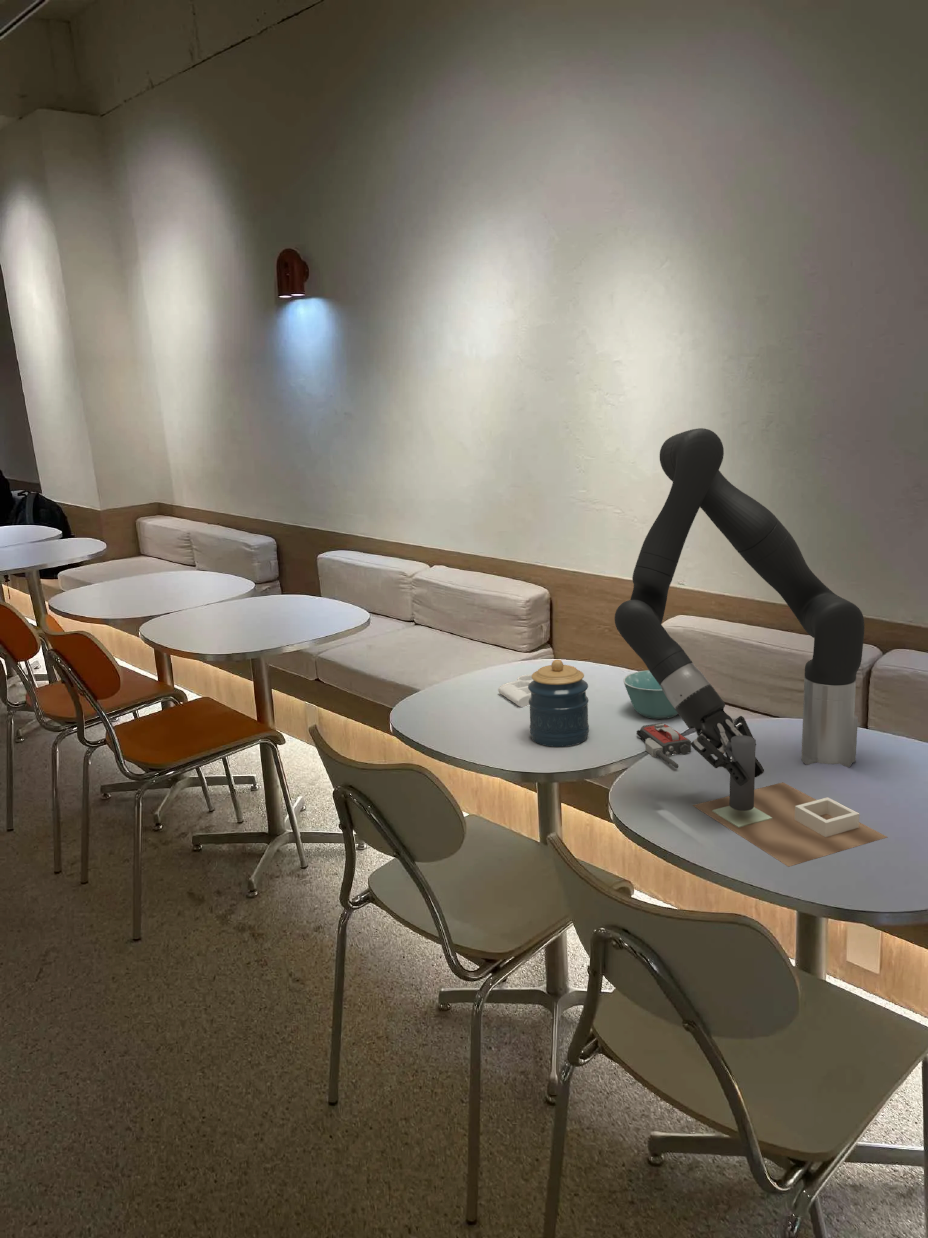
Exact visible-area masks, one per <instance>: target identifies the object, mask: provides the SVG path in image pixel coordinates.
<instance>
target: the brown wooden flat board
mask: <svg viewBox="0 0 928 1238" xmlns="http://www.w3.org/2000/svg"><path fill="white" fill-rule="evenodd" d="M729 798H730V795H728V796H724V797H720V798H715V799H711V800H708V801H703V802H699V803H697V804H693V805H692V806H693V807H694V808H695V809H697V810H699V811H701V812H702V813H703V814H705V815H707V816H709V818H711V819H713V820H715V821H717V822H718V823H719V824H721V825H722V826H724V827H725V828H727V829H728V830H730V831H732V833H735V834H737V835H738V836H740V838H742V839H744V840H746V841H747V842H749V843H751V844H753V845H754V846H755V847H757V848H758V849H760V850H761V851H763V852H765V853H766V854H768V855H769V856H770V857H773V859H776V860H777V861H779V862H780V863H782V864H783V865H785V866H786V867H788V868H789V867H792V866H796V865H799V864H803V863H805V862H809V861H813V860H816V859H820V858H823V857H826V856H829V855H833V854H836V853H837V854H838V853H839V852H843V851H846V850H850V849H852V848H857V847H861V846H863V845H866V844H870V843H873V842H876V841H877V842H878V841H880V840H884V839H886V838H888V836H886V835H885V834H882V833H880V832H879V831H877V830H875V829H873V828H871V827H870V826H868V825H865V824H864V823H862V822H860V821H859V828H855V829H852V830H849V831H845V832H842V833H838V834H835V835H831V836H828V837H824V836H823V835H821V834H819V833H817V832H816V831H814V830H812V829H810V828H809V827H807V826H805V825H803V824H801V823H800V822H798V821H796V820H795V806H797V805H801V804H804V803H808V802H812V801H816V800H817V799H816V798H815V797H812V796H810V795H808V794H806V793H805V792H802V791H801V790H798V789H796V788H795V787H793V786H791V785H789V784H787V783H785V782H778V783H774V784H770V785H766V786H762V787H759V788H756V789H755V788H754V808H753V809H751V810H748V811H740V810H735V809H733V808H731V807H730V805H729ZM820 817H822V818H824V819H826V820H828V819H831V818H834V817H832V816H830V815H829V814H824V815H820Z"/></svg>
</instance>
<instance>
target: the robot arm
mask: <svg viewBox="0 0 928 1238" xmlns="http://www.w3.org/2000/svg"><path fill="white" fill-rule="evenodd" d="M723 445H724V444H723V442H722V440H721V438H720V437H719V436H718V434H716V432H714V431H713V430H711V429H707V428H705V427H704V428H703V427H701V428H699V427H698V428H694V429H693V428H692V429H689V430H685V431H682V432H680V433H676V434H673V435H672V436H669V437H668V438H667V439H666V440H665V441H664V442H663V443H662V445H661V447H660V450H659V462H660V466H661V469H662V471H663V472H664V474H665V475H666V477H668V479H669V480H670V481H671V482H672V484H671V488H670V490H669V493H668V495H667V498H666V500H665V503H664V505H663V507H662V508H661V510H660V512H659V513H658V515H657V517H656V518H655V520H654V522H653V523H652V525H651V527H650V529H649V530H648V533H647V535H646V536H645V538H644V541H643V542H642V545H641V547H640V551H639V554H638V556H637V559H636V562H635V566H634V569H633V573H632V584H633V589H632V591H631V592H632V593H631V596H630V599H628V600H624V601H623V602H622V603H621V604H620V605H618V607H617V609H616V611H615V614H614V625H615V629H616V630H617V631H618V633H619V635H620V636H621V637H622V639H623V640H625V642H626V643H627V644H628V646H629V647H630V648H631V649H632V650H633V652H634V653H635V654H636V655H637V656H638V658H640V659H641V660H642V662H643V663H644V665H645V666H646V667H647V670H649V671H650V672H651V674H652V675H653V677H654V678H655V679H656V681H657V682H658V684H659V685H660V687H661V688H662V690H663V692H664V694H665V695H666V697H667V699H668V700H669V701H670V703H671V704H672V706H673V707H674V708H675V710H676V711H677V713H678V714H677V715H678V716H679V717H680V718H681V720H682V721H683V722H684V724H685V725H686V726H687V728H688V729H690V730H693V729H694V730H695V732H696V735H697V737H696V738H695V739H694V740H692V741H691V748H692V749H694V750H695V751H696V752H697V753H698V754H699V755H700V756H701V757H702V758H703V759H704V760H706V761H707V762H708V763H709V765H711V766H712V767H713V768H714V769H718V768H722V769H726V771H727V772H728V774H729V776H730V775H731V776H732V778H733V779H734V780H735V782H736V783H738V785H739V786H742V785H744V784H746V783H747V782H748V781H750V778H749V776H748V775H747V773H746V772H745V771H744V769H743V768H742V767H741V765H740V764H739V763H738V761H736V762H735V757H734V755H733V753H732V751H731V738H732V737H734V736H738V735H744V736H750V737H753V738H754V736H753V734H752V732H751V729H750V728H749V725H748V724H747V721H746V719H745V717H743V716H742V715H739V716H737V718H732V717H731V716H730V715H729V714H727V712H725V711H724V708H725V706H726V702H725V701H724V700H723V699H722V697H721V696H720V695H719V693H718V692H717V691H716V689H715V688H714V687H713V685H712V684H711V682H710V681H709V680H708V678H707V677H706V676H705V674H704V673H703V672H702V671H701V670H700V669H699V668H698V666H696V665H695V663H694V662H693V661H692V659H691V658H690V657H689V656H688V654H687V653H686V651H685V650H684V649H683V648H682V646H681V645H680V644H679V643H678V642H677V641H676V640H674V639H673V638H672V637H671V636H670V634H669V633H668V632H667V631H666V629H665V628H664V626H663V625H662V624H663V620H664V616H665V611H666V606H667V601H668V594H669V589H670V586H671V584H672V581H673V578H674V575H675V572H676V570H677V566H678V564H679V560H680V557H681V555H682V552H683V548H684V545H685V544H686V540H687V537H688V535H689V532H690V530H691V528H692V526H693V522H694V521H695V518H696V516H697V514H698V513H699V509H701V510H702V511H703V512H704V513H705V514H706V516H707V517H708V518H709V519H710V521H711V522H712V523H713V524H714V526H715V527H716V528H717V529H718V530H719V532H721V534H722V535H723V536H724V537H725V538H726V539H727V540H728V542H729V543H730V544H731V546H732V547H733V548H734V549H735V551H736V552H737V553H738V554H739V556H741V557H742V558H743V560H744V561H745V562H746V563H747V565H749V566H750V567H751V568H752V569H753V570H754V571H755V573H756V574H758V576H760V578H761V579H763V580H764V581H765V582H766V583H767V584H768V585H769V586H770V587H771V588H772V589H774V590H775V591H776V592H777V593H778V594H779V595H780V597H781V598H782V600H784V602H785V603H786V605H787V606H788V607H789V609H790V611H792V613H793V614H794V616H795V617H796V619H797V621H798V622H799V624H800V625H801V626H802V628H803V630H804V631H805V632H806V633H807V634H808V635H809V636H810V637H812V638H814V640H813V651H812V659H810V660H808V661H807V662H806V663H805V666H804V682H803V683H804V684H803V706H802V707H803V709H802V710H803V711H802V729H801V730H802V732H801V733H802V734H801V757H800V758H801V762H802V763H803V764H805V765H806V766H809V765H812V764H813V765H814V764H816V763H819V764H824V765H842V766H844V767H846V768H850V767H851V766H852V763H856V759H857V758H856V757H857V742H858V739H857V738H858V723H859V721H858V720H859V717H858V715H856V714H855V705H856V704H855V703H856V685H857V683H856V682H857V673H858V671H859V669H860V667H861V664H862V660H863V651H864V650H863V648H864V639H865V619H864V614H863V612H862V611H861V609H860V607H859V606H858V605H856V604H855V603H853V602H851V601H849V600H847V599H846V598H844V597H841V596H839V595H837V594H836V593H835V592H834V591H832V590H831V589H830V588H829V587H828V586H827V585H826V584H824V583H823V581H821V580H820V579H819V577H818V576H817V575H815V573H814V572H813V571H812V570H811V568H810V567H809V565H808V564H807V562H806V560H805V558H804V556H803V553H802V552H801V550H800V547H799V545H798V543H797V542H796V540H795V539H794V537H793V536H792V534H791V532H790V531H789V530H788V529H787V528H786V527H785V526H784V525H783V523H782V522H781V521H780V520H779V518H777V516H776V515H775V514H774V513H773V512H772V511H771V510H769V509H768V508H767V507H766V506H764V505H763V504H762V503H760V502H759V501H757V500H756V499H754V498H753V497H752V496H750V495H749V494H747V493H745V492H744V491H743V490H740V489H739V488H737V487H736V486H735V485H733V484H732V482H730V481H729V480H728V479H727V478H726V477H725V476H724V474H722V472H721V471H720V468H721V466H722V463H723V460H724V454H725V453H724V446H723ZM724 754H725V755H724ZM712 755H713V756H712ZM714 757H716V758H714ZM764 773H765V768H763V765H762V764H761V762H760V761H759V760H758V758H757V757H756V756H755V778H758V777H759V776H761V775H762V774H764Z"/></svg>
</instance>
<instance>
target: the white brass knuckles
mask: <svg viewBox="0 0 928 1238" xmlns="http://www.w3.org/2000/svg"><path fill="white" fill-rule="evenodd" d="M532 681H533V679H532V674H523V675H519V676H518V677H517V678H516V680H514V681H510V682H509V681H508V682H507V683H504V684H501V686H499V687H498V688H497V691H498V694H501V695H502V696H504V697H505V698H507V700H510V701H511V702H512V703H514V704H515V705H516V706H517V707H520V708H525V706H527V705H530V704H529V699H530V697H531V691H530V690H529V689H528V685H529V684H530V683H531V682H532ZM527 707H528V706H527Z"/></svg>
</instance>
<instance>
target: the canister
mask: <svg viewBox="0 0 928 1238" xmlns="http://www.w3.org/2000/svg"><path fill="white" fill-rule="evenodd" d="M531 675H532V679H533V681H532V682H531V683H530V684H529V685H528V689H529V690H530V691H531V697H530V699H529V704H530V706H529V721H530V722H529V723H530V724H529V734H530V738H531V740H533V741H534V742H535V743H537V744H539V745H542V746H547V747H554V748H555V747H558V748H560V747H570V746H575V745H578V744H581V743H583V742H585V741H586V740H587V739H588V737H589V732H590V725H589V705H588V703H589V697H587V690H588V688H589V684H588V682H587V681H586V680H585V679H584V678H585V673H584V672H583V671H581V670H579V669H577V667H575V666H572V665H570V664H569V665H568V664H564V662H563V661H562V660H560V659H554V660H553V661H552V662H551V664H550V665H545V666H541V667H540V668H539V669H537V670H536V671H534V672H533V673H531Z"/></svg>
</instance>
